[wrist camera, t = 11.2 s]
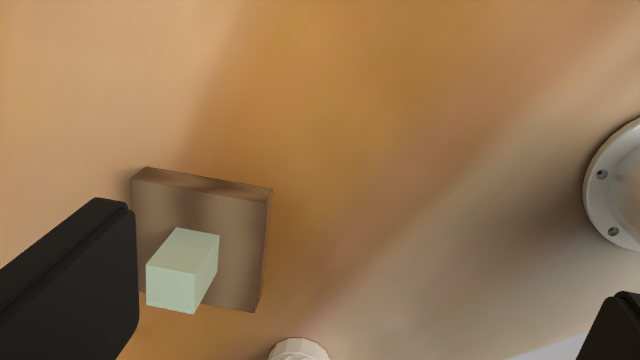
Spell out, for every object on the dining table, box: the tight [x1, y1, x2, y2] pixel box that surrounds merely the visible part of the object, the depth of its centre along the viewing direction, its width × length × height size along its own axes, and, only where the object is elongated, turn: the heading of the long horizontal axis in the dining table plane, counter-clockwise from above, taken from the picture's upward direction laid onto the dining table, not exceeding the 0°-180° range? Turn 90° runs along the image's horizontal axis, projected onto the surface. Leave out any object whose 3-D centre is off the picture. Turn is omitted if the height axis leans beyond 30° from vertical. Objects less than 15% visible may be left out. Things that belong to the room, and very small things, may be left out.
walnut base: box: [130, 167, 273, 313], centre depth 44 cm, size 12×12×3 cm
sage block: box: [146, 227, 220, 315], centre depth 40 cm, size 4×4×6 cm
